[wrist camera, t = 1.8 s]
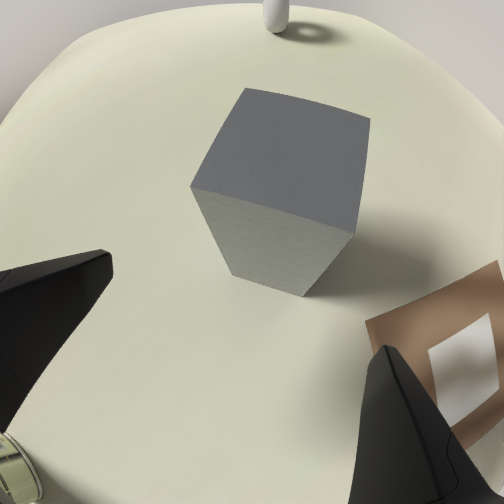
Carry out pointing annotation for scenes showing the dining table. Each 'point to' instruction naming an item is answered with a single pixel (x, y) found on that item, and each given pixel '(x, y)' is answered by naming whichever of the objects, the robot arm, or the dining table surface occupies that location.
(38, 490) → the coffee can
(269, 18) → the donut
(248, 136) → the gray block
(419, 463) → the robot arm
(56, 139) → the dining table surface
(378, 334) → the walnut board
